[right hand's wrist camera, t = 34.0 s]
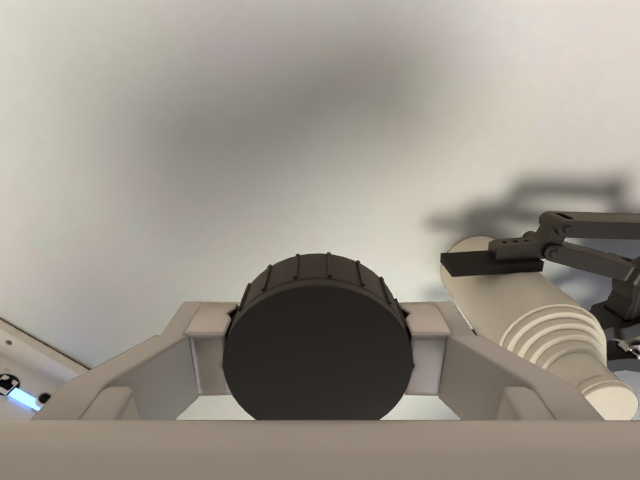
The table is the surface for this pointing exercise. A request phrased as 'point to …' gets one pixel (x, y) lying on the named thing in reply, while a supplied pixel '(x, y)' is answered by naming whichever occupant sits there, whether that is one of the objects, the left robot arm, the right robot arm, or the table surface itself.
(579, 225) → the left robot arm
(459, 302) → the bottle
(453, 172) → the table surface
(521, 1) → the table surface
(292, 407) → the cap
